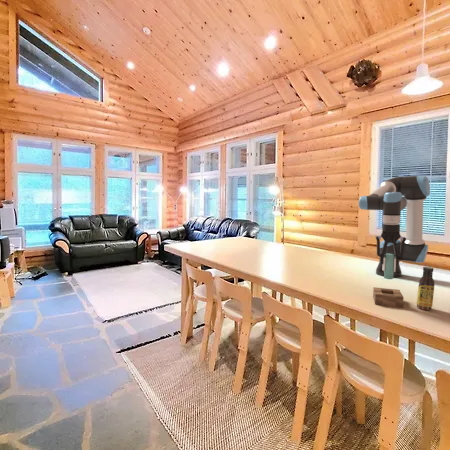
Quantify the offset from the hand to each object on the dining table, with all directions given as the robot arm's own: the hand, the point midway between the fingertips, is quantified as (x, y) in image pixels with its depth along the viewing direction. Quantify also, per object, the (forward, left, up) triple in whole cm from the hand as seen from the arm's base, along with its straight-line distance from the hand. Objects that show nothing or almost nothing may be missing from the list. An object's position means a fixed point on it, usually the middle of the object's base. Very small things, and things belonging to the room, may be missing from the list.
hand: (388, 270), depth 151 cm
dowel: (0, 0, -4) cm, 4 cm away
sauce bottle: (+4, +15, -16) cm, 23 cm away
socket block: (0, 0, -16) cm, 16 cm away
